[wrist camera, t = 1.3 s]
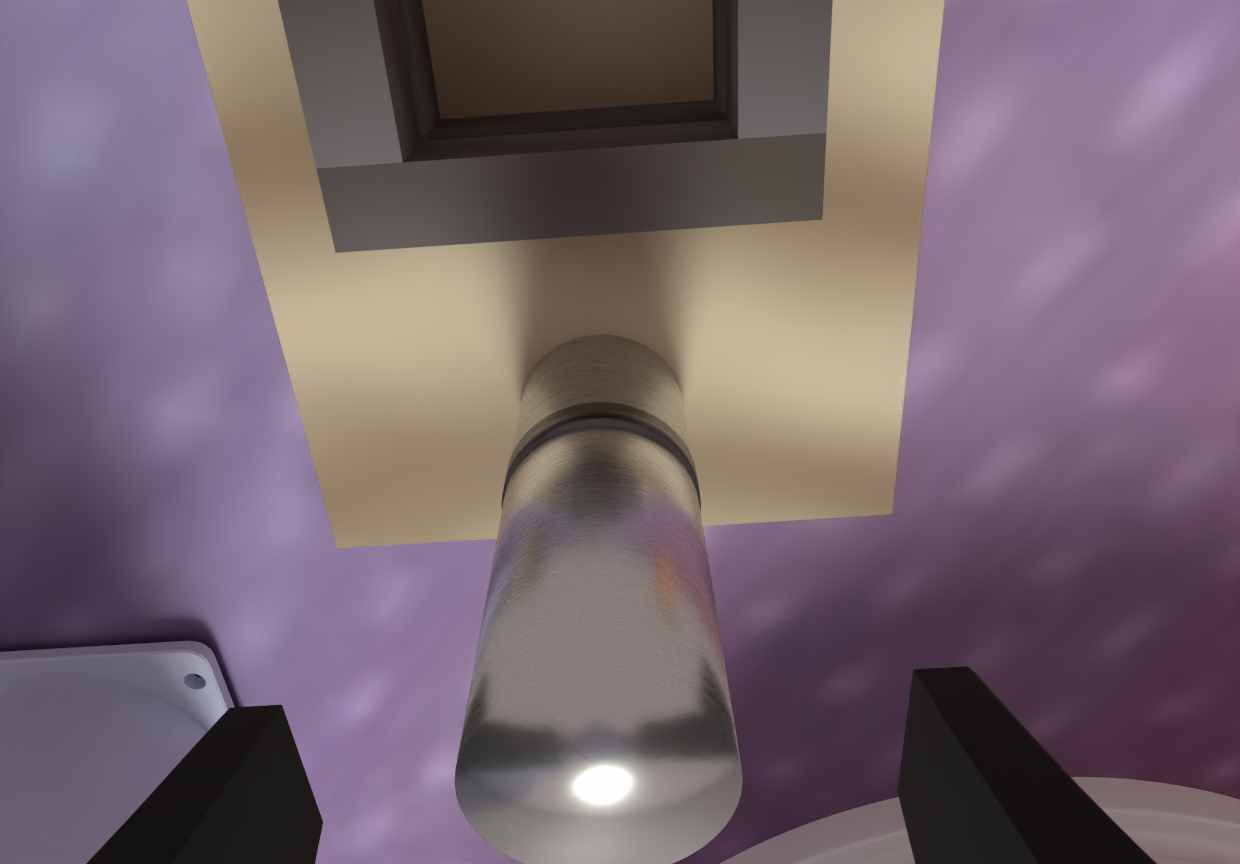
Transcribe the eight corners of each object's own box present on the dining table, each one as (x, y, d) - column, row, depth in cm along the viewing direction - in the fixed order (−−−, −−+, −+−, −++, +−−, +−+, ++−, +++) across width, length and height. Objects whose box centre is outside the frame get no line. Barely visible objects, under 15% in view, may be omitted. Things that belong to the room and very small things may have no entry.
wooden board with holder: (879, 488, 20) (940, 614, 16) (348, 521, 20) (291, 652, 17) (961, -399, 13) (1105, -531, 9) (126, -330, 13) (-65, -432, 9)
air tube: (686, 473, 19) (745, 872, 11) (529, 483, 19) (473, 887, 11) (682, 327, 17) (747, 671, 9) (509, 338, 17) (427, 689, 9)
